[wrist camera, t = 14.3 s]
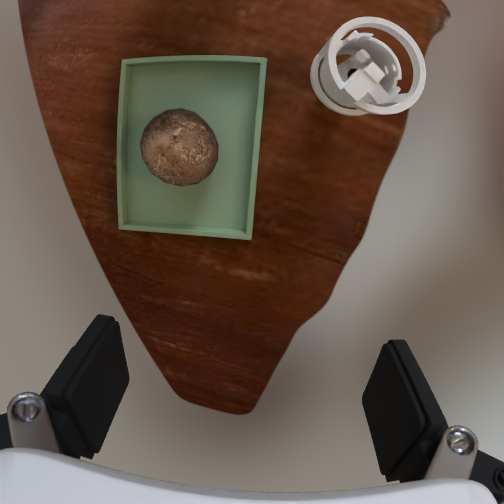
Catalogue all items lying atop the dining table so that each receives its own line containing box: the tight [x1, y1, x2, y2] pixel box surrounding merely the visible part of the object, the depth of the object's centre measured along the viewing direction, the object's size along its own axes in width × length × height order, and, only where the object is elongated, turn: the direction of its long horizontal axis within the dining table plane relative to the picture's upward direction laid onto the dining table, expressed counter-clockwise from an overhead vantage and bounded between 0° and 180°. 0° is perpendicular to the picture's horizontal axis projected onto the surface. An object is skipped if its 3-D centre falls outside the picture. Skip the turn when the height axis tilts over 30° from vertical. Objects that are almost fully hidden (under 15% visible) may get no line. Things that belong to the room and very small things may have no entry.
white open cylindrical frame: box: [310, 17, 426, 115], centre depth 23 cm, size 7×7×15 cm
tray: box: [117, 55, 267, 240], centre depth 32 cm, size 19×15×2 cm
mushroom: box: [140, 108, 219, 187], centre depth 30 cm, size 8×8×6 cm
